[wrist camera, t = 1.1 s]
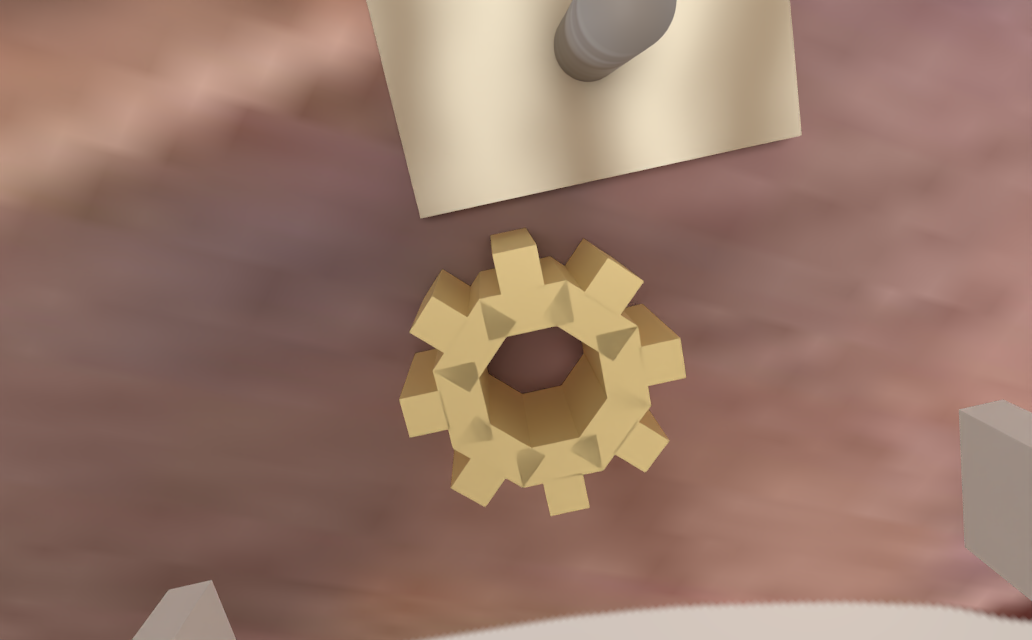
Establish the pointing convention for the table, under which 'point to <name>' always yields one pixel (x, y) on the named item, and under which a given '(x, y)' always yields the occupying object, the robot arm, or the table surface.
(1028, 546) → the robot arm
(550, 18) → the board
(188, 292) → the table surface
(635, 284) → the gear
